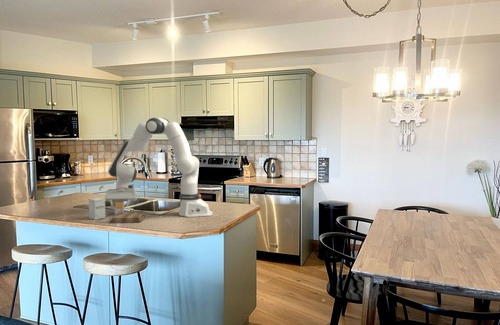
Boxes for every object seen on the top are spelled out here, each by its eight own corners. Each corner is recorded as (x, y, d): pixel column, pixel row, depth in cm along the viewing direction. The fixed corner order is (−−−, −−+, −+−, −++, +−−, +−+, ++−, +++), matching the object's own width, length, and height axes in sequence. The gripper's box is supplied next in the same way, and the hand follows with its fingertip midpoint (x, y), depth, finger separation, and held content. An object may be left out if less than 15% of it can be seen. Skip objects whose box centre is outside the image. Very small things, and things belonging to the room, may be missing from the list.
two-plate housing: (124, 214, 250) (124, 201, 249) (122, 215, 246) (122, 202, 245) (116, 214, 250) (116, 201, 249) (115, 215, 246) (114, 202, 245)
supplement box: (95, 220, 234) (94, 200, 233) (88, 218, 238) (88, 198, 237) (105, 217, 239) (105, 198, 238) (99, 216, 244) (98, 197, 243)
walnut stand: (145, 216, 242) (145, 212, 242) (140, 222, 226) (140, 217, 226) (117, 217, 241) (116, 212, 241) (109, 223, 225) (109, 218, 225)
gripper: (106, 186, 253) (102, 203, 244) (136, 186, 254) (134, 203, 245) (108, 191, 257) (104, 208, 248) (138, 191, 259) (135, 208, 250)
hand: (119, 205), depth 247 cm, fingers open, 8 cm apart
